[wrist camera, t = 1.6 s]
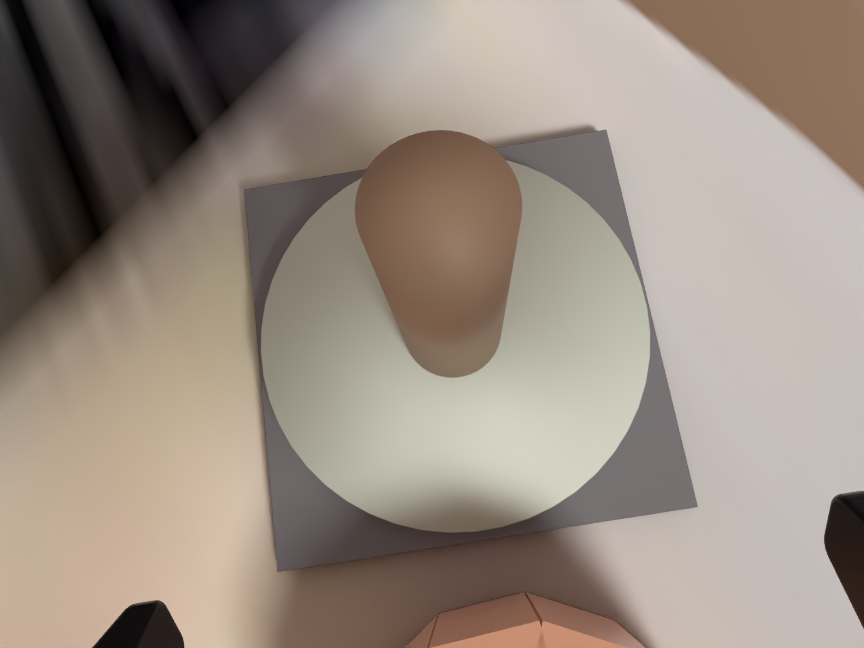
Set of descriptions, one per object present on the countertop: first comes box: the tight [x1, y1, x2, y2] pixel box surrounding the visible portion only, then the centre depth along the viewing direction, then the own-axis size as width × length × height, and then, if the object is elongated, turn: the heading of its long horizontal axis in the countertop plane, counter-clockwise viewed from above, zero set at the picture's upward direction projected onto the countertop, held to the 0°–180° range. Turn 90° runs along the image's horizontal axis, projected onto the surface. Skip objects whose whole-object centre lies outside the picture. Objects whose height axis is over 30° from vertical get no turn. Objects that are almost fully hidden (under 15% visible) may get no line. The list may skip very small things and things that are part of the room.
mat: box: [244, 130, 698, 572], centre depth 22 cm, size 13×13×1 cm
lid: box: [261, 130, 650, 533], centre depth 17 cm, size 12×12×10 cm
